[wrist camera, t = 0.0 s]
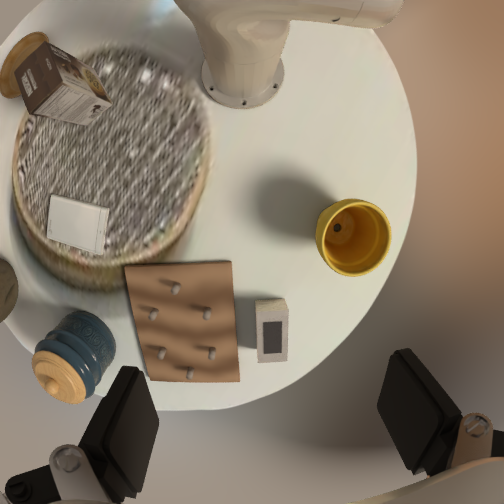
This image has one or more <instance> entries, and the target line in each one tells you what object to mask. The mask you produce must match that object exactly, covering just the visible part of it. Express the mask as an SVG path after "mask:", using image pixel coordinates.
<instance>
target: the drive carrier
mask: <svg viewBox="0 0 504 504" xmlns="http://www.w3.org/2000/svg"><path fill="white" fill-rule="evenodd" d="M255 311H256V341H257V358H258V363H267V362H282V361H287V352H288V312H289V310H288V307H287V304H286V301H285V299H268V300H255Z"/></svg>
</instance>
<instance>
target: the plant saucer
mask: <svg viewBox="0 0 504 504" xmlns="http://www.w3.org/2000/svg"><path fill="white" fill-rule="evenodd" d="M44 41H46V42H48V43H49V40H48V37H47V36H46V35H45V34H44V33H42V32H34V33H31V34H29V35H27V36H25V37H24V38H22V39H21V40H20V41H19V42H18V43H17V44H16V45H15V46H14V47H13V49H12V50H11V51H10V53H9V54H8V56H7V57H6V59H5V61H4V63H3V66H2V69H1V72H0V92H1V94H2V95H3V96H4V97H6V98H15V97H17V96H19V95H21V92H20V89H19V86H18V83H17V80H16V78H15V75H14V71H15V70H16V69H17V68H18V67H19V65H20V64H21V63H22V62H23V61H24V60H25V59H26V58H27V57H28V56H29V55H30V54H31V53H32V52H34V51H35V50H36V49H37V48H38V47H39V46H40V45H41V44H42V43H43V42H44Z"/></svg>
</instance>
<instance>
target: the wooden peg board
mask: <svg viewBox="0 0 504 504" xmlns="http://www.w3.org/2000/svg"><path fill="white" fill-rule="evenodd" d="M124 269H125V274H126V280H127V286H128V291H129V296H130V301H131V306H132V311H133V315H134V320H135V324H136V328H137V333H138V337H139V341H140V345H141V349H142V352H143V356H144V360H145V364H146V367H147V371H148V374H149V377H150V381H167V382H240V373H239V361H238V348H237V335H236V322H235V308H234V293H233V278H232V262H231V261H227V262H204V263H180V264H155V265H129V266H125V267H124Z"/></svg>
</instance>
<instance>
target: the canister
mask: <svg viewBox="0 0 504 504" xmlns="http://www.w3.org/2000/svg"><path fill="white" fill-rule="evenodd" d="M115 352H116V344H115V340H114V337H113V335H112V333H111V331H110V330H109V328H108V327H107V326H106V324H105V323H104V322H103V321H101V320H100V319H99V318H98V317H96V316H94V315H92V314H90V313H88V312H84V311H77V312H73V313H71V314H69V315H67V316H66V317H65V318H64V319H62V321H61V322H60V324H59V325H58V326H57V327H56V328H54V329H53V330H52V331H51V332H49V333H48V334H47V335H46V337H45V339H44V340H42V341H40V342H39V343H38V344H37V346H36V348H35V354H34V356H33V358H32V368H33V371H34V373H35V375H36V377H37V380H38V381H39V383H40V385H41V386H42V387H43V388H44V389H45V391H46V392H48V393H49V394H50V395H51V396H53V397H54V398H56V399H58V400H61V401H63V402H66V403H70V404H78V403H81V402H82V401H83V400H84V399H86V398H89V397H90V396H92V395H93V393H94V391H95V386H97V385H98V384H99V382H100V381H101V378H102V376H103V374H104V372H105V371H106V369H107V367H108V366H109V365H110V364H111V363H112V361H113V359H114V356H115Z"/></svg>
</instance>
